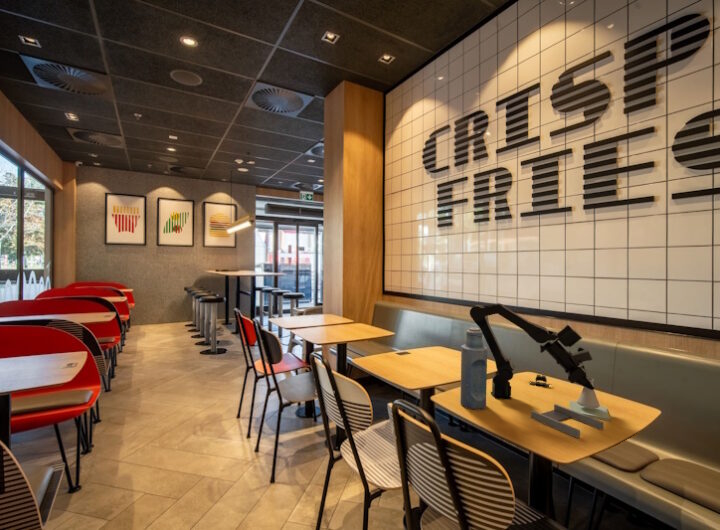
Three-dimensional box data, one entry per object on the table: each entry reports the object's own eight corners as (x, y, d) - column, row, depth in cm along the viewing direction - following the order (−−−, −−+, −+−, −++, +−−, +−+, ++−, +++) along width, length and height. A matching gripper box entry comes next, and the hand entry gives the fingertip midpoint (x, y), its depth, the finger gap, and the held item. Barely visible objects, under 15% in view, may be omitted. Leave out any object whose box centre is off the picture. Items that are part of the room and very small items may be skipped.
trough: (530, 417, 131) (531, 410, 131) (555, 410, 138) (555, 404, 138) (578, 438, 116) (578, 430, 116) (603, 429, 123) (603, 422, 123)
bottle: (478, 399, 148) (479, 325, 148) (491, 409, 138) (492, 330, 138) (456, 401, 146) (457, 326, 146) (467, 411, 137) (468, 331, 136)
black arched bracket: (556, 386, 167) (556, 376, 167) (556, 391, 160) (556, 380, 160) (526, 381, 173) (526, 371, 173) (525, 386, 166) (525, 376, 166)
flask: (604, 407, 136) (604, 380, 136) (591, 410, 133) (592, 382, 133) (585, 400, 143) (586, 374, 142) (572, 402, 140) (573, 376, 139)
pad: (571, 413, 135) (571, 411, 135) (569, 402, 146) (569, 400, 146) (610, 420, 130) (610, 418, 130) (605, 408, 140) (605, 406, 140)
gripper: (579, 346, 131) (616, 383, 126) (576, 337, 147) (608, 368, 143) (554, 365, 135) (588, 401, 130) (553, 353, 151) (583, 385, 146)
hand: (592, 388), depth 137 cm, fingers closed on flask, 3 cm apart
